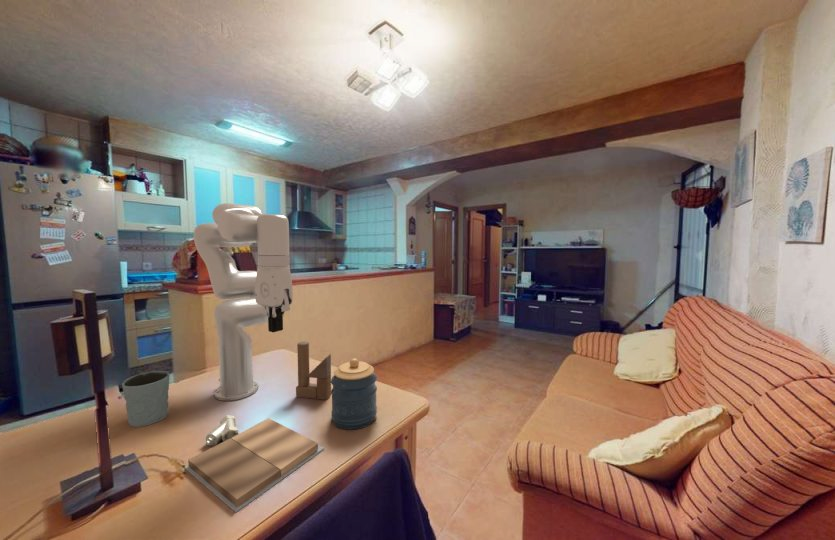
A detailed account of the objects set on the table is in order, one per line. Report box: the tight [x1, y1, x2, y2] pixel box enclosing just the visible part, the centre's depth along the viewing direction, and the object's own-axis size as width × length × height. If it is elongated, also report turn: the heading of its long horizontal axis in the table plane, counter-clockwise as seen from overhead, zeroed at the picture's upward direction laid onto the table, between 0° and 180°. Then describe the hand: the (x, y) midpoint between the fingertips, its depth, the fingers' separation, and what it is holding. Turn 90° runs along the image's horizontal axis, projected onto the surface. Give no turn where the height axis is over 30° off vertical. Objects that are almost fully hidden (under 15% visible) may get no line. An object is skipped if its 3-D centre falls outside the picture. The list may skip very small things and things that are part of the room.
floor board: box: [187, 438, 280, 507], centre depth 67 cm, size 20×9×2 cm, turn 58°
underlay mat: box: [184, 444, 325, 513], centre depth 71 cm, size 21×21×1 cm
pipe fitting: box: [205, 414, 239, 447], centre depth 79 cm, size 8×4×7 cm
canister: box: [330, 357, 378, 430], centre depth 88 cm, size 13×13×18 cm
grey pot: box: [121, 370, 171, 427], centre depth 87 cm, size 10×10×12 cm
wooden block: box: [295, 340, 332, 400], centre depth 100 cm, size 4×11×18 cm, turn 83°
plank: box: [231, 417, 319, 476], centre depth 75 cm, size 20×10×2 cm, turn 58°
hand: (275, 330), depth 81 cm, fingers closed
